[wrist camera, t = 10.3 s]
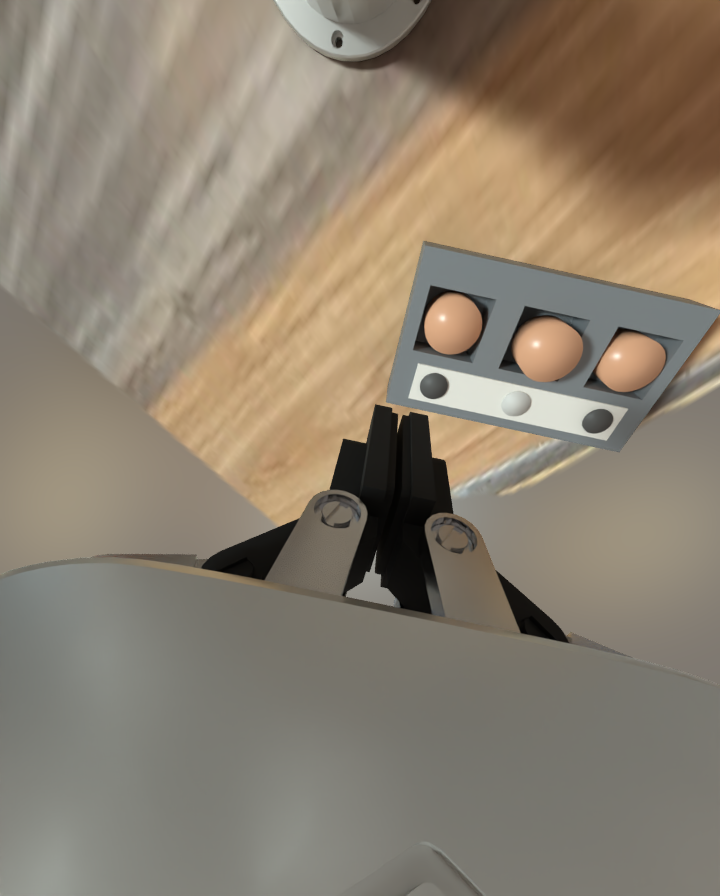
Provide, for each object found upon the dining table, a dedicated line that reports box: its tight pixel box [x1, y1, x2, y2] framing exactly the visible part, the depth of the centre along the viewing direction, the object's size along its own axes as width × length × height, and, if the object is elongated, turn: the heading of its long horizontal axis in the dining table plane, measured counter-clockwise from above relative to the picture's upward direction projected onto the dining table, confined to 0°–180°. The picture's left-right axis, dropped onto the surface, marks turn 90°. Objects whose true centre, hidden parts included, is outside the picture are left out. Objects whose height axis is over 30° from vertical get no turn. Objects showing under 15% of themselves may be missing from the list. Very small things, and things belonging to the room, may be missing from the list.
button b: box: [511, 315, 583, 382], centre depth 31 cm, size 5×5×3 cm
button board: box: [386, 241, 720, 452], centre depth 34 cm, size 14×24×4 cm, turn 80°
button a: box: [423, 290, 482, 355], centre depth 33 cm, size 5×5×3 cm
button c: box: [592, 328, 666, 392], centre depth 33 cm, size 5×5×3 cm
